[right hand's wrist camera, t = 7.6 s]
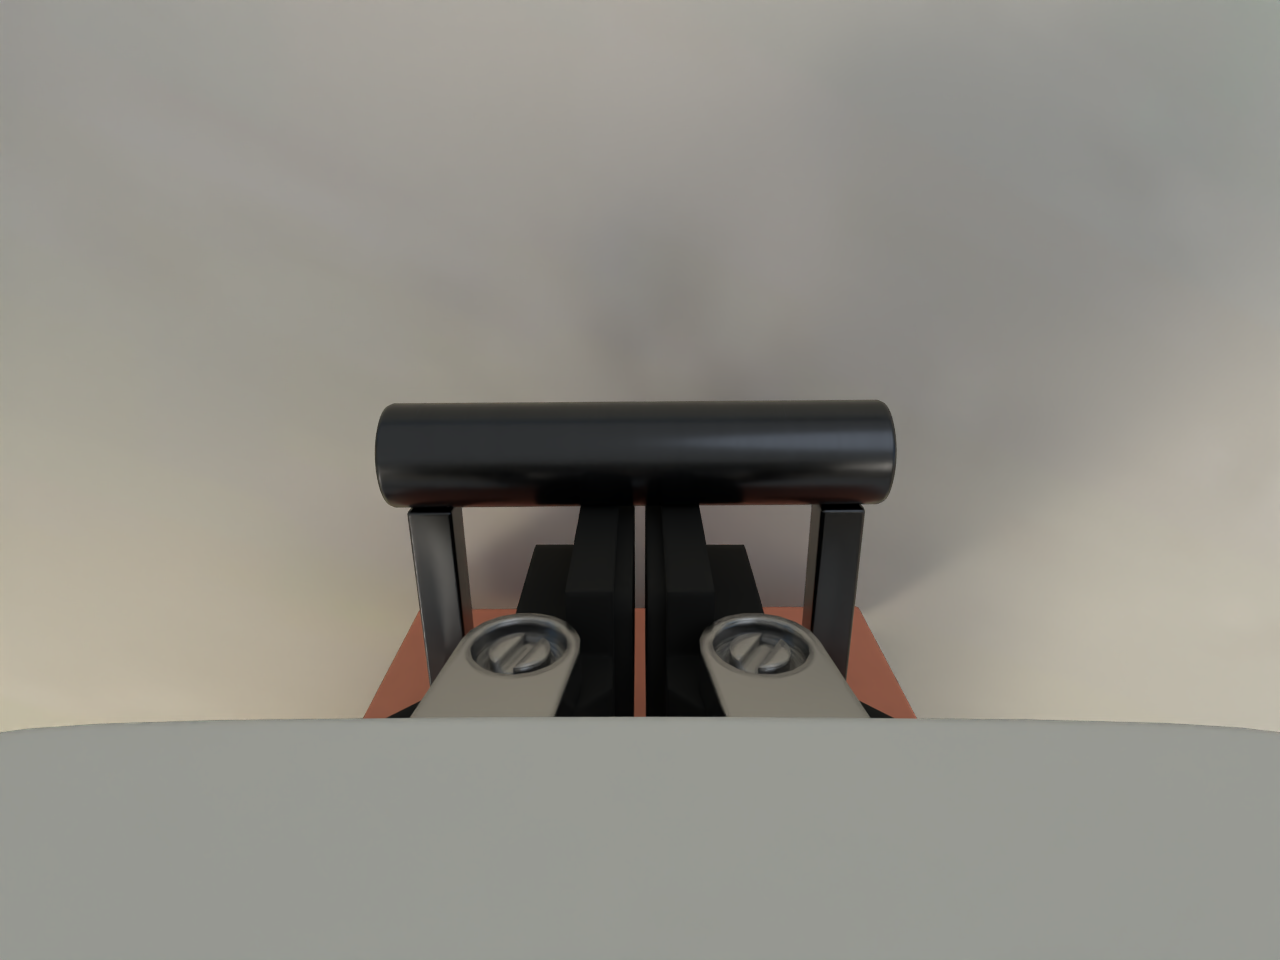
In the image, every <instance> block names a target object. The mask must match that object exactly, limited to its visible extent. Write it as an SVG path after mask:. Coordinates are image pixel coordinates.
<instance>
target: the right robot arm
mask: <svg viewBox="0 0 1280 960" xmlns="http://www.w3.org/2000/svg"><path fill="white" fill-rule="evenodd" d="M634 678H635V506H581V508H580V513H579V519H578V524H577V529H576V535H575V540H574V545H536V546H535V549H534V552H533V555H532V559H531V562H530V566H529V569H528V573H527V576H526V579H525V583H524V586H523V590H522V593H521V597H520V600H519V604H518V607H517V610H516V614H511V615H505V616H500V617H497V618H494V619H491V620H488V621H486V622H483V623H482V624H480V625H478V626H477V627H475V628H473V629H472V630H470V631H469V632H468V633H467V634H466V635H465V636H464V637H463V639H462V640H461V641H460V642H459V644H458V645H457V647H456V648H455V650H454V651H453V653H452V655H451V656H450V658H449V659H448V661H447V662H446V664H445V665H444V667H443V668H442V670H441V671H440V673H439V674H438V676H437V677H436V679H435V680H434V682H433V683H432V685H431V686H430V688H429V689H428V691H427V692H426V694H425V695H424V697H423V698H422V700H421V701H419V702H417V703H415V704H413V705H411V706H409V707H407V708H405V709H403V710H401V711H399V712H397V713H395V714H393V715H391V716H389V717H387V718H366V719H272V720H208V721H175V722H143V723H110V724H89V725H75V726H61V727H47V728H32V729H22V730H15V731H7V732H0V960H1280V732H1273V731H1264V730H1256V729H1247V728H1236V727H1220V726H1204V725H1188V724H1172V723H1141V722H1103V721H1065V720H1028V719H912V718H893V717H891V716H889V715H887V714H885V713H883V712H881V711H879V710H877V709H875V708H873V707H871V706H869V705H867V704H865V703H863V702H861V701H859V700H858V698H857V697H856V695H855V694H854V692H853V691H852V689H851V688H850V686H849V685H848V683H847V682H846V680H845V679H844V677H843V676H842V674H841V673H840V671H839V670H838V668H837V667H836V665H835V664H834V662H833V661H832V659H831V658H830V656H829V655H828V653H827V651H826V650H825V648H824V647H823V645H822V644H821V642H820V641H819V640H818V639H817V637H816V636H815V635H814V634H813V633H812V632H811V631H810V630H808V629H807V628H805V627H803V626H802V625H800V624H798V623H797V622H794V621H792V620H789V619H786V618H783V617H780V616H775V615H769V614H764V611H763V607H762V604H761V600H760V597H759V594H758V590H757V587H756V583H755V580H754V576H753V573H752V569H751V566H750V563H749V559H748V556H747V552H746V549H745V547H744V545H706V541H705V535H704V530H703V525H702V519H701V514H700V508H699V505H689V506H645V686H646V717H634Z"/></svg>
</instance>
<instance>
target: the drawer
mask: <svg viewBox="0 0 1280 960" xmlns="http://www.w3.org/2000/svg"><path fill="white" fill-rule="evenodd" d="M896 455H897V448H896V434H895V428H894V423H893V419H892V416H891V413H890V411H889V408H888V407H887V405H886V404H885V403H883V402H881V401H879V400H791V401H655V402H519V403H394V404H391V405H389V406H387V407H386V408H385V409H384V411H383V412H382V414H381V417H380V420H379V423H378V427H377V433H376V440H375V466H376V474H377V479H378V484H379V487H380V491H381V493H382V496H383V498H384V500H385V501H386V502H387V503H388V504H389V505H390V506H393V507H396V508H411V509H410V510H409V511H408V522H409V530H410V537H411V545H412V553H413V560H414V568H415V576H416V584H417V591H418V599H419V607H420V611H419V612H418V614H417V616H416V618H415V620H414V622H413V624H412V625H411V627H410V629H409V631H408V633H407V635H406V637H405V639H404V641H403V643H402V645H401V647H400V648H399V650H398V652H397V654H396V656H395V658H394V660H393V662H392V664H391V666H390V668H389V670H388V671H387V673H386V675H385V677H384V679H383V681H382V683H381V685H380V687H379V689H378V691H377V693H376V694H375V696H374V698H373V700H372V702H371V704H370V706H369V708H368V710H367V712H366V714H365V716H364V717H363V719H366V718H387V717H389V716H391V715H393V714H395V713H397V712H399V711H401V710H403V709H405V708H407V707H409V706H411V705H413V704H415V703H417V702H419V701H421V700H422V698H423V697H424V695H425V694H426V692H427V691H428V689H429V688H430V686H431V685H432V683H433V682H434V680H435V679H436V677H437V676H438V674H439V673H440V671H441V670H442V668H443V667H444V665H445V664H446V662H447V661H448V659H449V658H450V656H451V655H452V653H453V651H454V650H455V648H456V647H457V645H458V644H459V642H460V641H461V640H462V639H463V637H464V636H465V635H466V634H467V633H468V632H469V631H470V630H472V629H473V628H475V627H477V626H478V625H480V624H482V623H483V622H486V621H488V620H491V619H494V618H497V617H500V616H505V615H511V614H516V610H517V609H472V605H471V595H470V586H469V576H468V566H467V556H466V546H465V536H464V526H463V516H462V507H551V506H689V505H812V508H811V520H810V533H809V545H808V557H807V569H806V581H805V594H804V606H803V607H763V611H764V614H769V615H775V616H780V617H783V618H786V619H789V620H792V621H794V622H797V623H798V624H800V625H802V626H803V627H805V628H807V629H808V630H810V631H811V632H812V633H813V634H814V635H815V636H816V637H817V639H818V640H819V641H820V642H821V644H822V645H823V647H824V648H825V650H826V651H827V653H828V655H829V656H830V658H831V659H832V661H833V662H834V664H835V665H836V667H837V668H838V670H839V671H840V673H841V674H842V676H843V677H844V679H845V680H846V682H847V683H848V685H849V686H850V688H851V689H852V691H853V692H854V694H855V695H856V697H857V698H858V700H859V701H861V702H863V703H865V704H867V705H869V706H871V707H873V708H875V709H877V710H879V711H881V712H883V713H885V714H887V715H889V716H891V717H893V718H912V719H917V718H916V716H915V714H914V712H913V710H912V708H911V706H910V705H909V703H908V701H907V699H906V697H905V695H904V693H903V691H902V689H901V687H900V686H899V684H898V682H897V680H896V678H895V676H894V674H893V672H892V670H891V668H890V667H889V665H888V663H887V661H886V659H885V657H884V655H883V653H882V651H881V649H880V648H879V646H878V644H877V642H876V640H875V638H874V636H873V634H872V632H871V630H870V629H869V627H868V625H867V623H866V621H865V619H864V617H863V615H862V613H861V611H860V610H859V608H858V607H855V598H856V589H857V579H858V570H859V561H860V552H861V543H862V534H863V525H864V516H865V510H864V508H863V506H862V505H861V504H879V503H881V502H883V501H884V500H885V499H886V498H887V496H888V495H889V493H890V490H891V487H892V484H893V480H894V475H895V469H896ZM634 717H646V686H645V608H635V678H634Z"/></svg>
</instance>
